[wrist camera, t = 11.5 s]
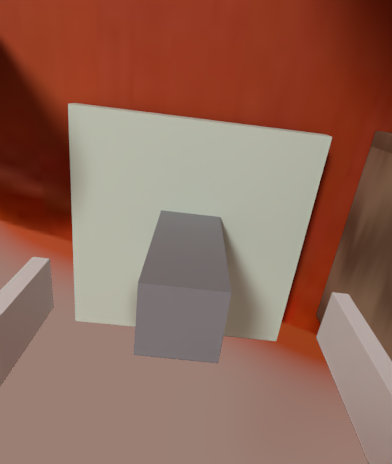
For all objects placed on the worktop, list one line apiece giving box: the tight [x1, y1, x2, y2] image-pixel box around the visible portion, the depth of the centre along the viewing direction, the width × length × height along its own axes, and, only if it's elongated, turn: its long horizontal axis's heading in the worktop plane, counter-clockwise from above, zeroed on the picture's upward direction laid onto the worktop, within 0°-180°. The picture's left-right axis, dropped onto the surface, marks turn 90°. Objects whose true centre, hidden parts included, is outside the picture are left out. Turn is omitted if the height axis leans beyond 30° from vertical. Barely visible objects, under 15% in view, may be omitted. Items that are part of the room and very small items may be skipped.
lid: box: [68, 103, 332, 363], centre depth 20 cm, size 16×16×11 cm
